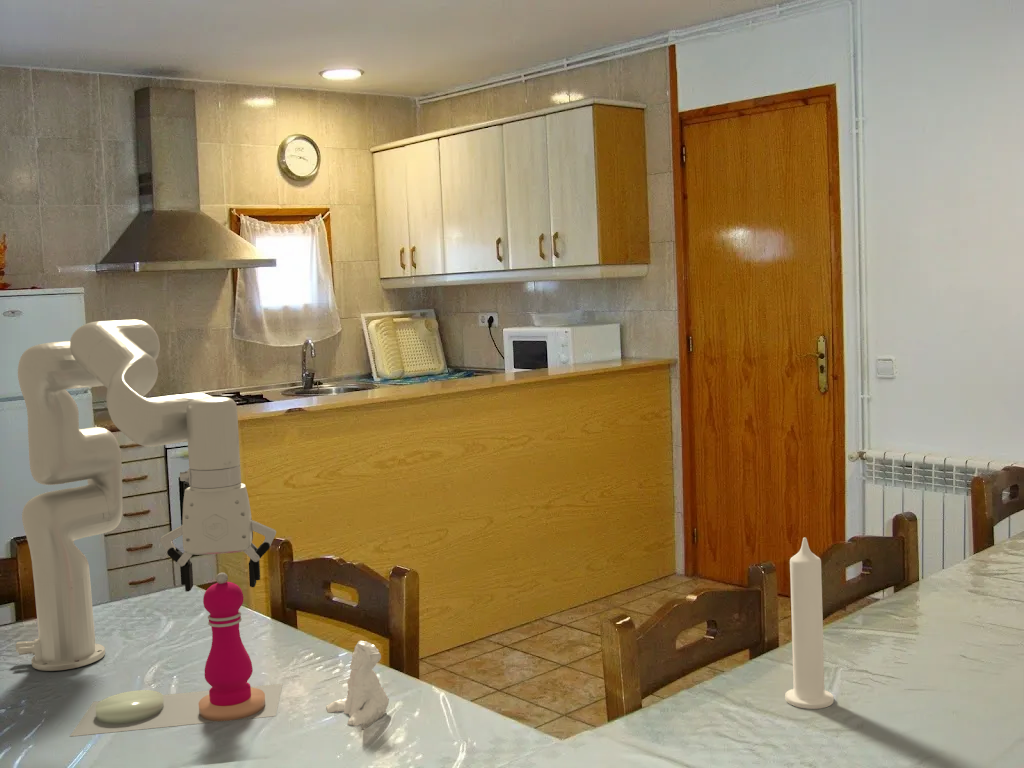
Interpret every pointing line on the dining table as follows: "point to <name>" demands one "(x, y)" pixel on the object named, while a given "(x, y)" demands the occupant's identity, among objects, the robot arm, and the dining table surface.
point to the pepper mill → (226, 645)
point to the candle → (807, 632)
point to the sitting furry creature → (363, 688)
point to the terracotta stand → (232, 707)
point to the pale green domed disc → (129, 707)
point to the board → (173, 713)
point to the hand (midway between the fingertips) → (221, 587)
